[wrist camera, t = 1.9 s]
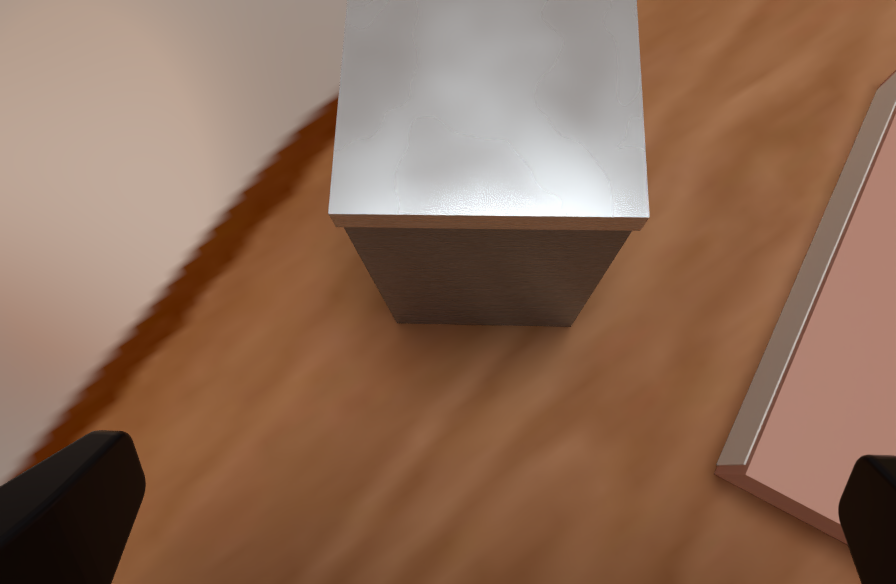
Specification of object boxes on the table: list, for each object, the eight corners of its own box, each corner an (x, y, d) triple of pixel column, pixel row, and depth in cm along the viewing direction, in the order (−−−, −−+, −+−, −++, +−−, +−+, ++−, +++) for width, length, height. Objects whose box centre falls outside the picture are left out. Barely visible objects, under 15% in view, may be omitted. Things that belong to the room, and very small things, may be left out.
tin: (573, 329, 22) (649, 217, 12) (394, 325, 22) (328, 213, 12) (569, 165, 23) (633, -48, 14) (402, 164, 24) (351, -45, 14)
